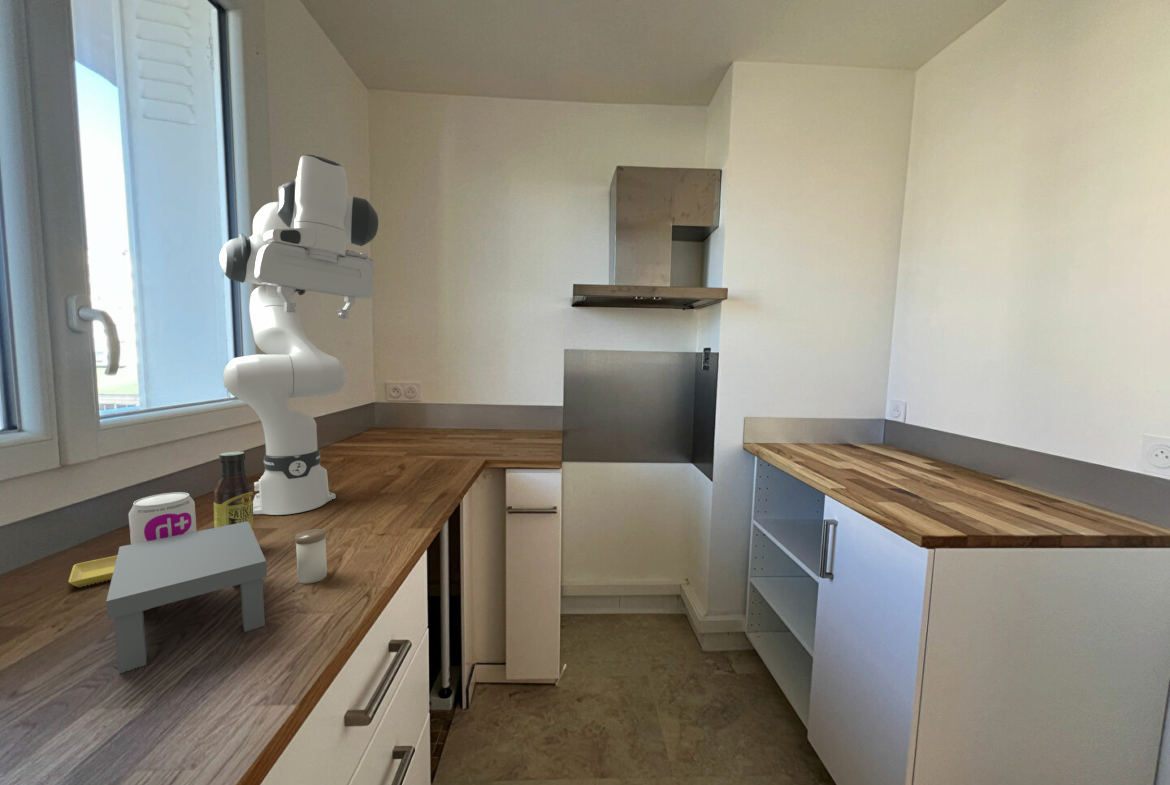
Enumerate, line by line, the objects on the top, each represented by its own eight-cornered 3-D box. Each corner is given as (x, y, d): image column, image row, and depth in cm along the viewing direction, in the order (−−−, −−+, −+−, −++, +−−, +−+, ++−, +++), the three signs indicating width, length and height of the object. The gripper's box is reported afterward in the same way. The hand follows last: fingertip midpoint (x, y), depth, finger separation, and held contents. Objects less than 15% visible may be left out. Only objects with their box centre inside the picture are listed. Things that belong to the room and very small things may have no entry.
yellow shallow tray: (141, 560, 87) (141, 549, 87) (141, 576, 81) (140, 565, 80) (74, 575, 81) (73, 564, 81) (68, 594, 75) (67, 582, 74)
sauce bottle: (233, 559, 87) (226, 458, 85) (206, 555, 88) (200, 456, 86) (263, 544, 93) (258, 450, 91) (238, 541, 94) (233, 449, 93)
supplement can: (203, 581, 78) (197, 498, 77) (137, 601, 72) (129, 510, 71) (195, 566, 84) (190, 488, 82) (133, 583, 78) (125, 498, 76)
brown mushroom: (294, 576, 81) (292, 533, 80) (324, 568, 84) (322, 526, 83) (300, 586, 77) (298, 542, 77) (330, 577, 80) (328, 534, 80)
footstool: (125, 608, 70) (119, 546, 69) (251, 574, 81) (248, 521, 80) (113, 678, 56) (106, 601, 55) (269, 625, 66) (266, 560, 65)
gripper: (368, 257, 97) (365, 321, 98) (253, 232, 82) (250, 308, 83) (381, 254, 93) (377, 321, 94) (262, 227, 78) (260, 307, 79)
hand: (317, 315), depth 88 cm, fingers open, 8 cm apart
